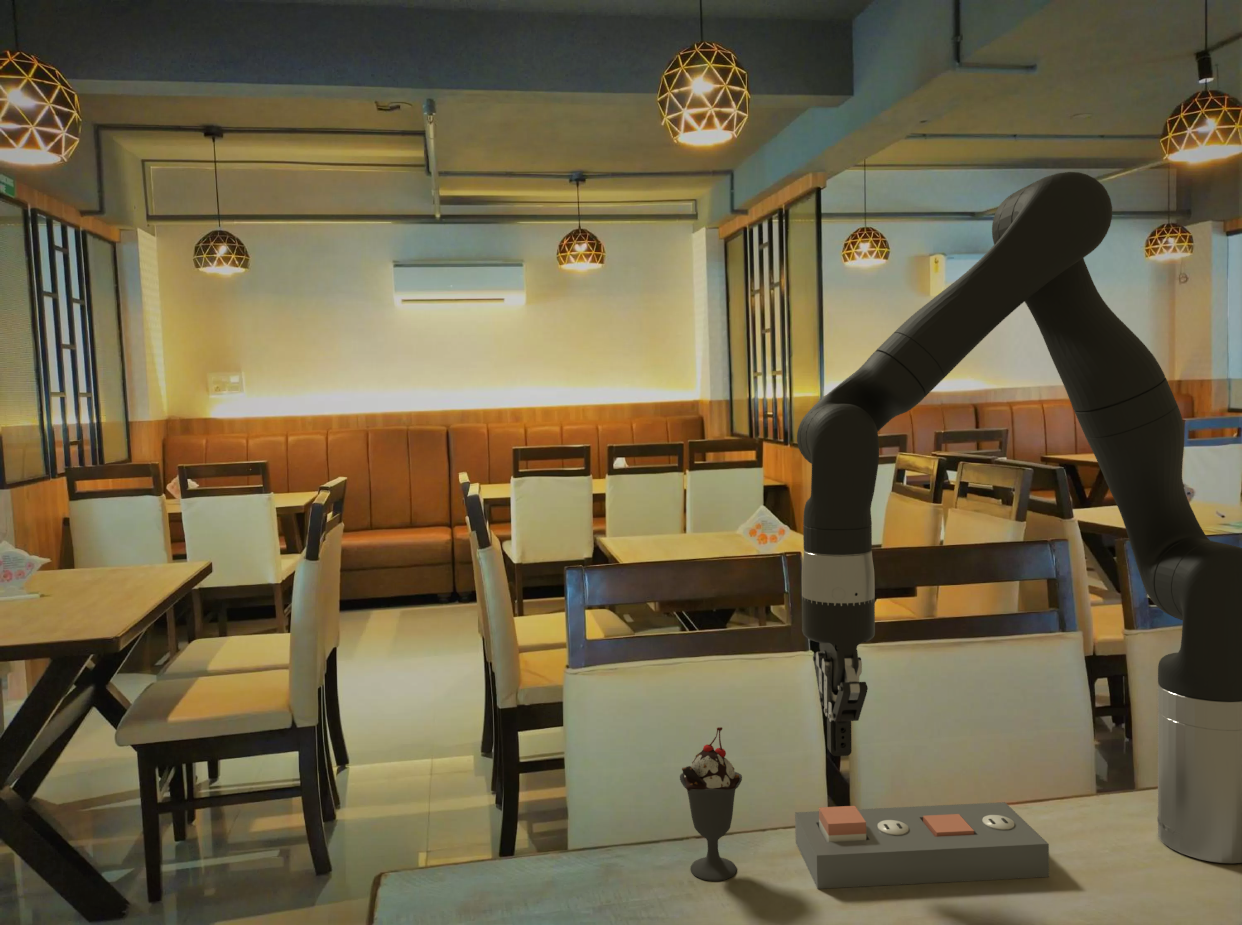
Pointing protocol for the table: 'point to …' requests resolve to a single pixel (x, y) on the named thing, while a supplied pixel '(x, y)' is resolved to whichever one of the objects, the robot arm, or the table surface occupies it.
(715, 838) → the sundae
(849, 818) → the switch
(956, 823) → the switch
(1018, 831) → the power strip
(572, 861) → the table surface
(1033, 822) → the table surface
